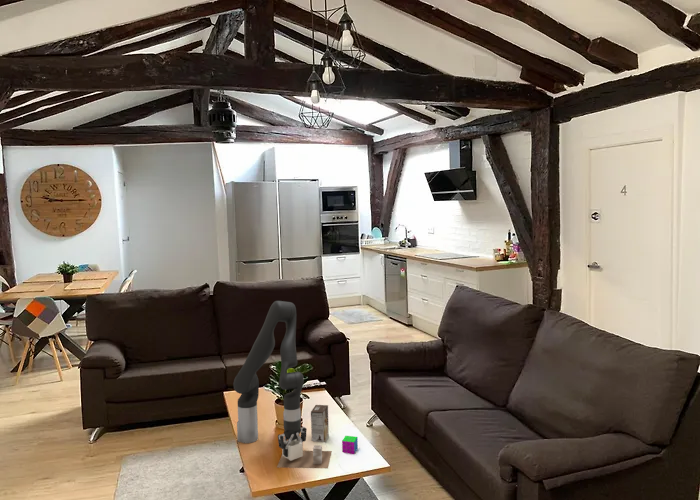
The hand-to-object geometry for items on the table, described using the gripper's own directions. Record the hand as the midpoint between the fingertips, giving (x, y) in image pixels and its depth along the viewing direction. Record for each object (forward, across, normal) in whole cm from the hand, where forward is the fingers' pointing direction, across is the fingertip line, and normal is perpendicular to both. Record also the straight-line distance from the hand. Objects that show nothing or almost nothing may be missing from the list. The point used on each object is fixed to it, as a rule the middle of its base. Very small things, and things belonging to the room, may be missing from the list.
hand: (292, 453), depth 242 cm
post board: (+4, +4, -4) cm, 7 cm away
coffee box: (+4, +22, +9) cm, 24 cm away
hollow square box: (+1, 0, 0) cm, 1 cm away
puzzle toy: (+4, +26, -8) cm, 28 cm away
